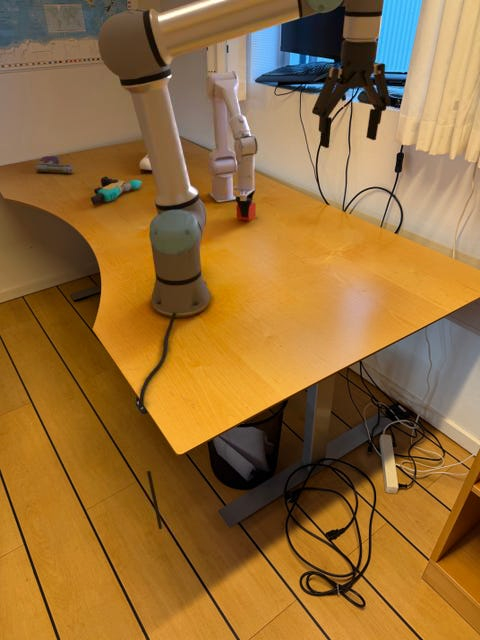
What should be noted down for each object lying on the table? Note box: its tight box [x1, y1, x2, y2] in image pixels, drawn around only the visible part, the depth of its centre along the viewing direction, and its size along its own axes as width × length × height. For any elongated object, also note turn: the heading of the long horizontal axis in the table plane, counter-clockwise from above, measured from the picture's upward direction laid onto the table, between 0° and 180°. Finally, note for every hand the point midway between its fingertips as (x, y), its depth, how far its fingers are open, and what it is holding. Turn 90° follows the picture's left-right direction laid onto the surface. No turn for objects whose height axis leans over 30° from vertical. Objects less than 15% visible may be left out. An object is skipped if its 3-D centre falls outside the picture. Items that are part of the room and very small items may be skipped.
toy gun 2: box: [90, 176, 143, 206], centre depth 186 cm, size 4×26×15 cm
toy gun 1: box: [34, 155, 74, 174], centre depth 213 cm, size 4×19×15 cm
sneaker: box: [139, 154, 152, 171], centre depth 214 cm, size 10×29×12 cm, turn 163°
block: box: [236, 201, 257, 222], centre depth 165 cm, size 5×5×5 cm
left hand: (348, 142), depth 113 cm, fingers open, 13 cm apart
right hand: (245, 212), depth 166 cm, fingers closed on block, 6 cm apart
